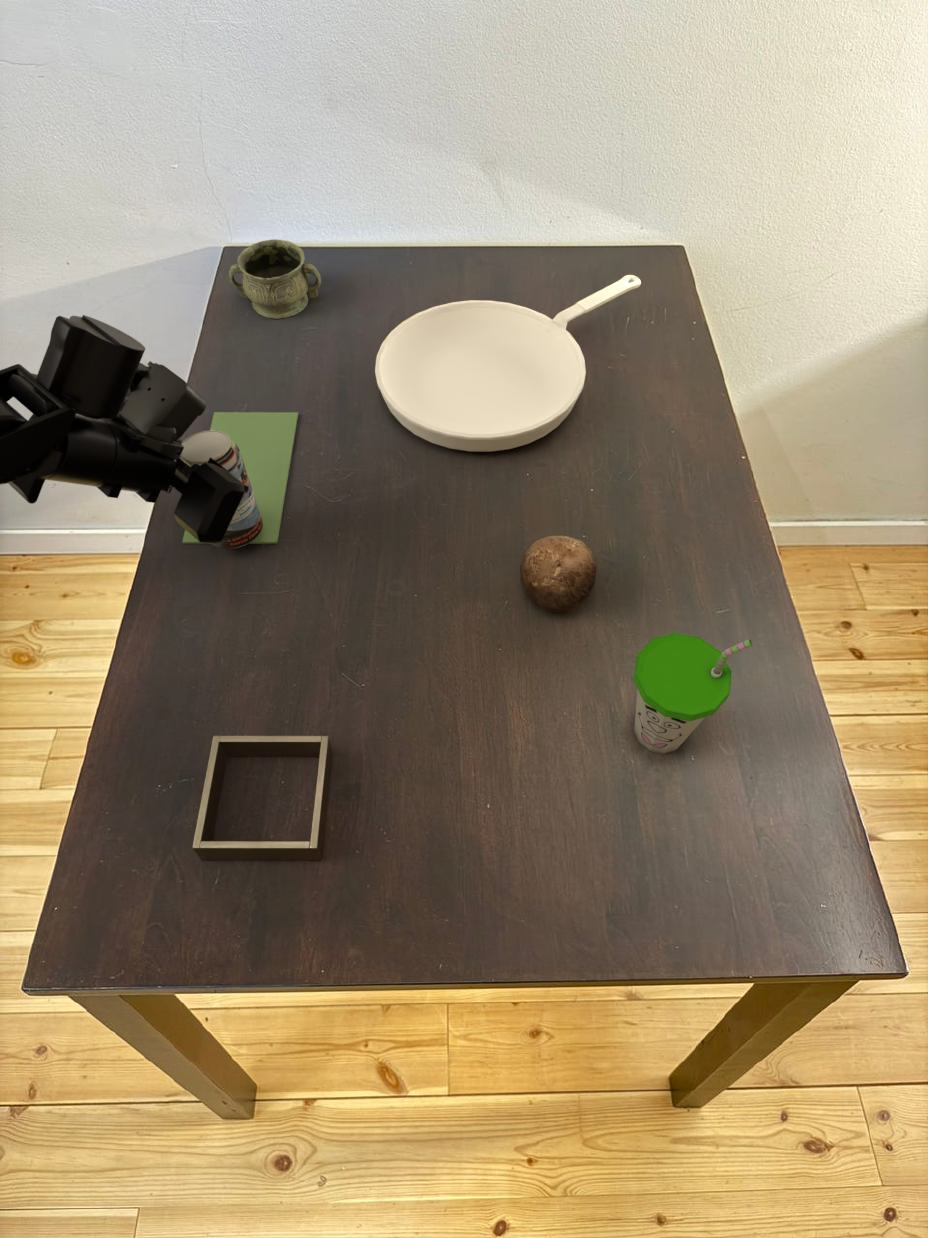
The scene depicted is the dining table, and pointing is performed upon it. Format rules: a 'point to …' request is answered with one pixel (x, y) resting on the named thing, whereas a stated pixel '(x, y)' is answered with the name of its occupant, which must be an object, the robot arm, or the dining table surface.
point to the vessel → (275, 278)
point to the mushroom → (558, 573)
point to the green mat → (261, 461)
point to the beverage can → (229, 456)
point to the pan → (485, 371)
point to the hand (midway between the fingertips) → (226, 475)
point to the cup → (678, 688)
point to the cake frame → (262, 748)
